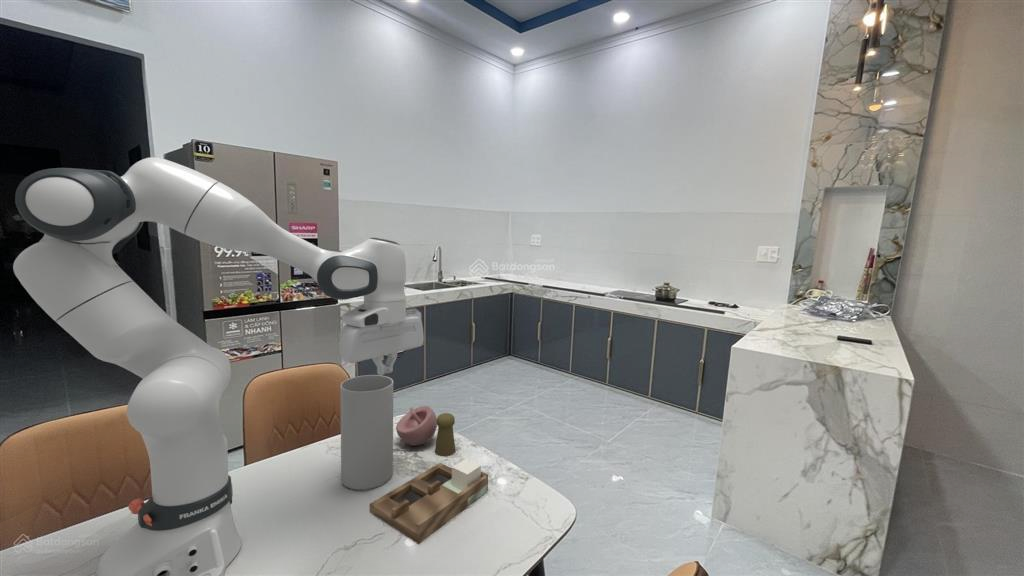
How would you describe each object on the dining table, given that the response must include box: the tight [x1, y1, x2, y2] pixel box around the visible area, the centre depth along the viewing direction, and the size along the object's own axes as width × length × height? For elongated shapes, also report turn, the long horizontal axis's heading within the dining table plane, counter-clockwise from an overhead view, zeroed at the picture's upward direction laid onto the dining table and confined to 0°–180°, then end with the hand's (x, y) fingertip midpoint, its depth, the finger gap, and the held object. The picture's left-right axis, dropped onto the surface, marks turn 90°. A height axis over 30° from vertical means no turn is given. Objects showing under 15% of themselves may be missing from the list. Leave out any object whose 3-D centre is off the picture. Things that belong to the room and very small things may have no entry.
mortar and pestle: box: [395, 405, 438, 446], centre depth 123 cm, size 12×12×11 cm
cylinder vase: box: [339, 374, 394, 491], centre depth 104 cm, size 12×12×25 cm
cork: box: [434, 412, 456, 457], centre depth 119 cm, size 6×6×11 cm
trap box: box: [369, 462, 489, 545], centre depth 96 cm, size 23×16×4 cm
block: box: [451, 458, 482, 490], centre depth 100 cm, size 5×5×4 cm
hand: (385, 373), depth 92 cm, fingers closed
